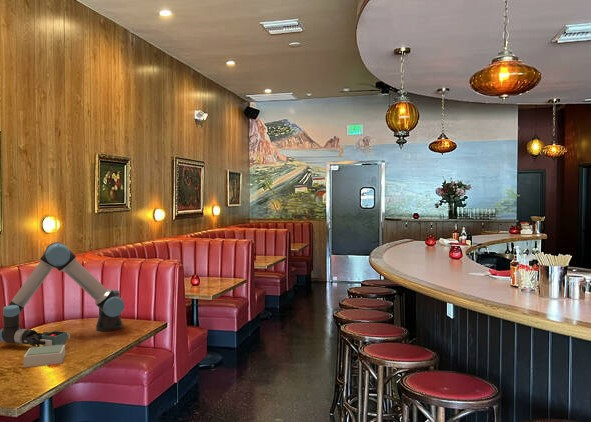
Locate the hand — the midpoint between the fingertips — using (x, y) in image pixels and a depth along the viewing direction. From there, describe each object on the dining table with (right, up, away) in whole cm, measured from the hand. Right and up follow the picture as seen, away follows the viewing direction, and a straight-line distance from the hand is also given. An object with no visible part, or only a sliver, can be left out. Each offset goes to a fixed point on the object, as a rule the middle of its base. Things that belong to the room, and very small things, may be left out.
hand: (60, 339), depth 248 cm
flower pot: (-4, -6, +1) cm, 7 cm away
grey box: (0, -6, -15) cm, 16 cm away
